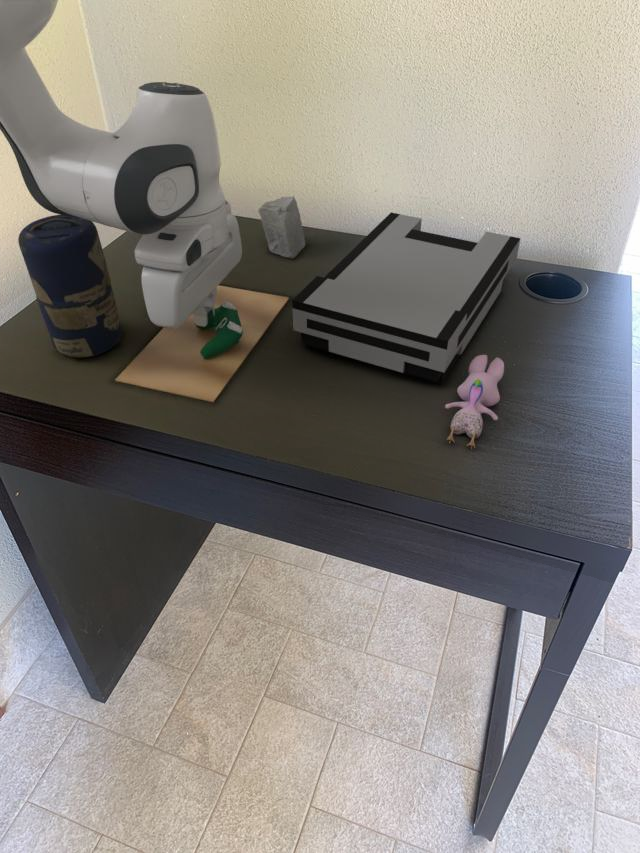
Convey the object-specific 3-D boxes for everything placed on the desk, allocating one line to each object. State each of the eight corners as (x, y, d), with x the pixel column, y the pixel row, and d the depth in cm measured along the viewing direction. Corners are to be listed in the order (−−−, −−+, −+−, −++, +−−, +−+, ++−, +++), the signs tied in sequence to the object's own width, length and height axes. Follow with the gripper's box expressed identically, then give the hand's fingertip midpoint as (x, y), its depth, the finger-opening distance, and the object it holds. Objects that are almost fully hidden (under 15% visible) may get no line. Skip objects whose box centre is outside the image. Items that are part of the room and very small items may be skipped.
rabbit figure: (486, 461, 78) (514, 371, 86) (492, 427, 73) (521, 336, 82) (432, 446, 80) (466, 360, 88) (435, 413, 75) (470, 326, 84)
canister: (115, 363, 91) (81, 236, 79) (44, 363, 91) (0, 237, 79) (131, 323, 98) (102, 202, 86) (65, 324, 98) (28, 203, 86)
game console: (512, 280, 106) (522, 230, 100) (440, 396, 85) (448, 341, 79) (388, 252, 113) (391, 204, 108) (294, 353, 92) (292, 299, 87)
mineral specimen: (310, 232, 118) (308, 192, 111) (298, 265, 113) (295, 225, 106) (269, 227, 119) (264, 187, 112) (255, 260, 114) (250, 219, 107)
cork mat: (213, 402, 84) (213, 401, 84) (115, 381, 88) (114, 379, 88) (289, 298, 103) (289, 297, 102) (205, 284, 106) (205, 283, 106)
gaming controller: (220, 370, 92) (249, 340, 90) (198, 356, 90) (227, 325, 88) (212, 333, 99) (239, 304, 96) (191, 320, 96) (218, 289, 94)
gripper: (205, 189, 92) (217, 281, 101) (125, 258, 78) (147, 357, 87) (248, 195, 91) (256, 287, 100) (175, 266, 76) (192, 366, 85)
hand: (205, 320), depth 93 cm, fingers closed, pressing on gaming controller
